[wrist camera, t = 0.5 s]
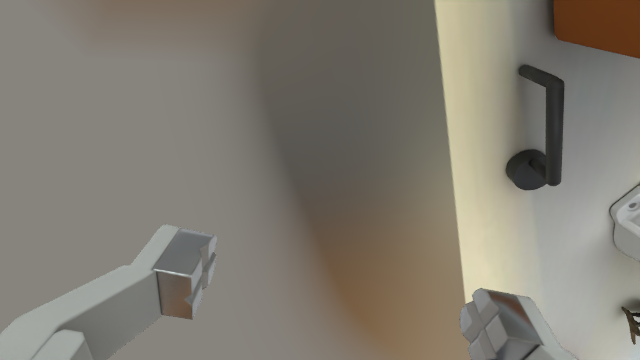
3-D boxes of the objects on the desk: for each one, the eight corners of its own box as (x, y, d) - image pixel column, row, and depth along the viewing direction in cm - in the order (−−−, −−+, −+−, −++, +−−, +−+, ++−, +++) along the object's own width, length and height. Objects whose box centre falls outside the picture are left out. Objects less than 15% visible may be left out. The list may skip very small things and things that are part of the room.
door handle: (545, 176, 41) (579, 207, 35) (506, 185, 42) (533, 217, 36) (546, 56, 34) (589, 70, 28) (498, 71, 35) (530, 88, 29)
